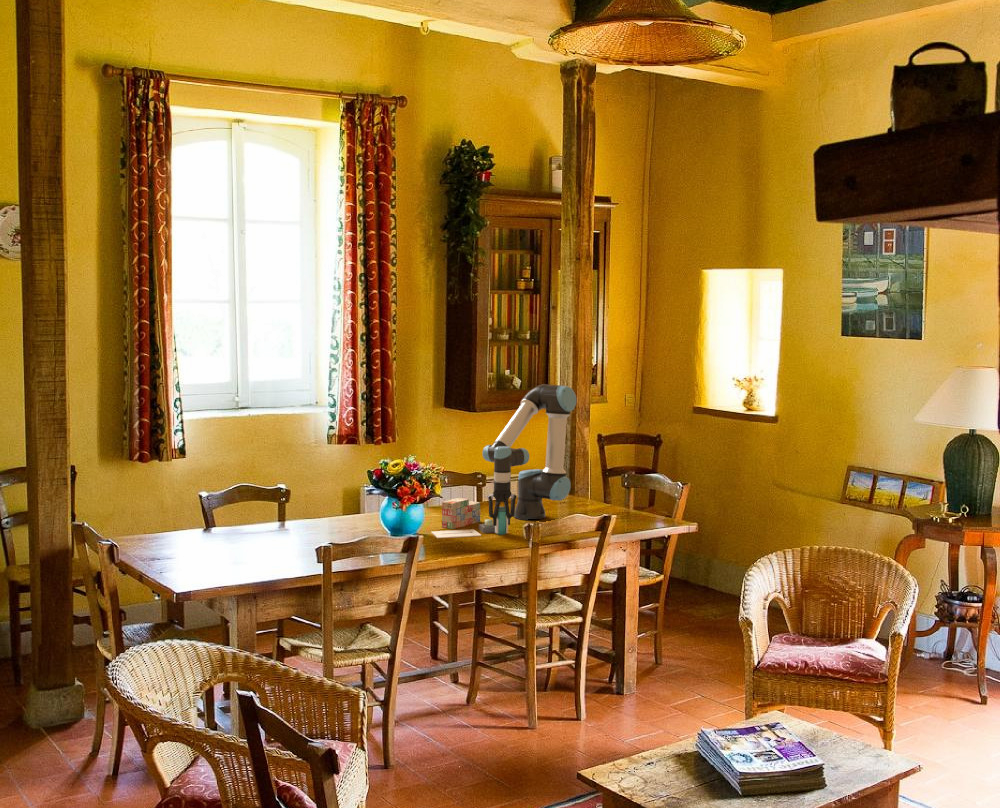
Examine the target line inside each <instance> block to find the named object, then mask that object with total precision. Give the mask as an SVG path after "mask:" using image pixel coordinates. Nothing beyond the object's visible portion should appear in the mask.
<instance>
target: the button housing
mask: <svg viewBox="0 0 1000 808" xmlns="http://www.w3.org/2000/svg"><path fill="white" fill-rule="evenodd" d="M478 530H479V531H480V532H481V533H483V534H489V533H495V526H494V525H493V523H492V526H489V527H485V523H480V524H478Z"/></svg>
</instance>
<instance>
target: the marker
mask: <svg viewBox="0 0 1000 808" xmlns="http://www.w3.org/2000/svg"><path fill="white" fill-rule="evenodd" d="M506 518H507V517H506V507H505V506H499V510H498V515H497V519H498V533H496V535H499V536H504V535H506V534H507V533H506Z"/></svg>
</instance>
